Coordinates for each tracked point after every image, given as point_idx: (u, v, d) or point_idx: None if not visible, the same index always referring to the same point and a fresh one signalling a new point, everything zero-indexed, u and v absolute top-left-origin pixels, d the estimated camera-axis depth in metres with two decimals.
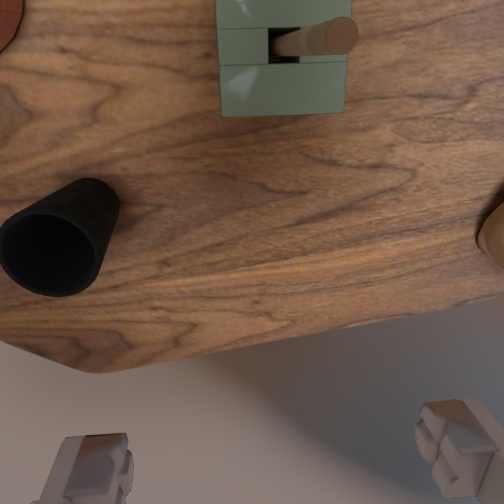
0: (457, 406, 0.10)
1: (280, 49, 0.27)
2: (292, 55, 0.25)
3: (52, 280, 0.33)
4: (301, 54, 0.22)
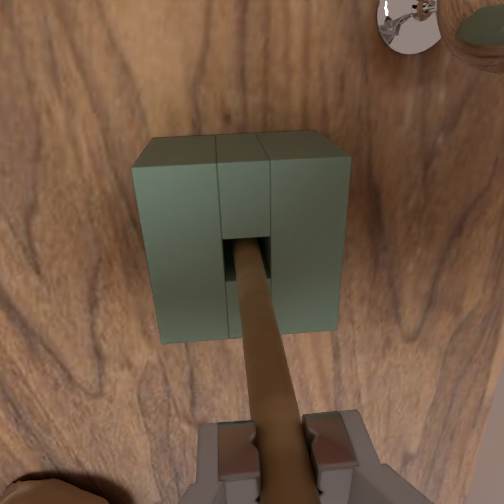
0: (333, 418, 0.10)
1: (246, 272, 0.17)
2: (240, 313, 0.15)
3: None
4: (248, 373, 0.12)
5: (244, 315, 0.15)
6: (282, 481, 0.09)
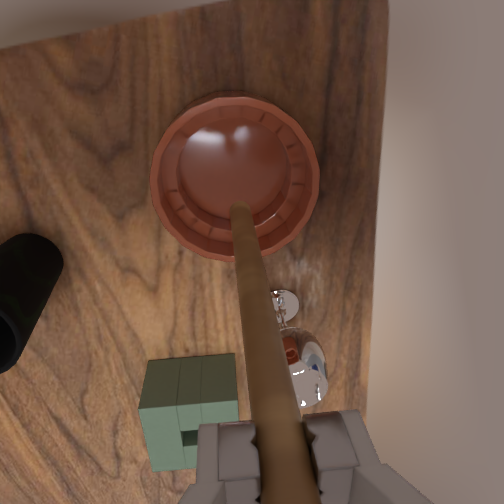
0: (334, 418, 0.10)
1: (246, 272, 0.17)
2: (241, 313, 0.15)
3: None
4: (249, 373, 0.12)
5: (244, 315, 0.15)
6: (283, 482, 0.09)
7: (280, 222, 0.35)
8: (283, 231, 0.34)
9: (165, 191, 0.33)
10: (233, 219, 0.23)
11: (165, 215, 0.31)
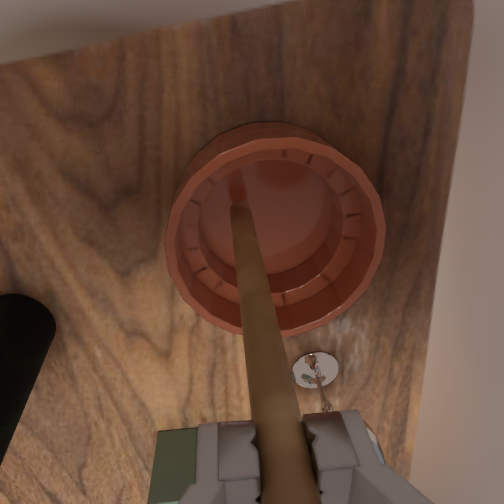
0: (334, 418, 0.10)
1: (246, 272, 0.17)
2: (241, 312, 0.15)
3: None
4: (249, 373, 0.12)
5: (245, 315, 0.15)
6: (283, 481, 0.09)
7: (326, 283, 0.28)
8: (332, 298, 0.27)
9: (183, 249, 0.26)
10: (233, 219, 0.23)
11: (184, 285, 0.24)
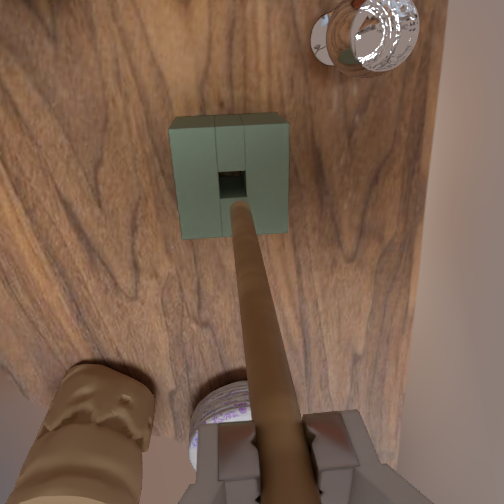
0: (333, 418, 0.10)
1: (246, 272, 0.17)
2: (241, 312, 0.15)
3: None
4: (249, 373, 0.12)
5: (244, 315, 0.15)
6: (283, 481, 0.09)
7: None
8: None
9: None
10: (233, 219, 0.23)
11: None
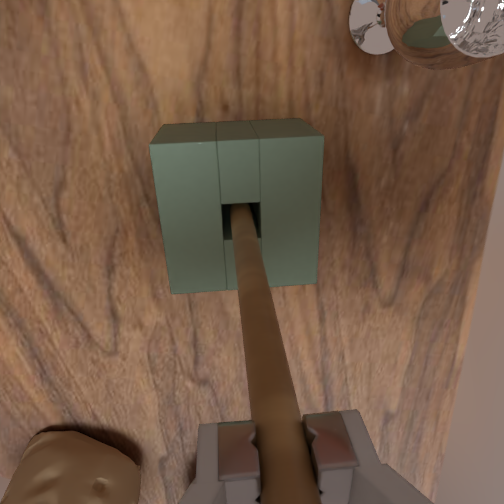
0: (334, 418, 0.10)
1: (246, 272, 0.17)
2: (241, 312, 0.15)
3: None
4: (249, 373, 0.12)
5: (244, 315, 0.15)
6: (283, 481, 0.09)
7: None
8: None
9: None
10: (233, 219, 0.23)
11: None
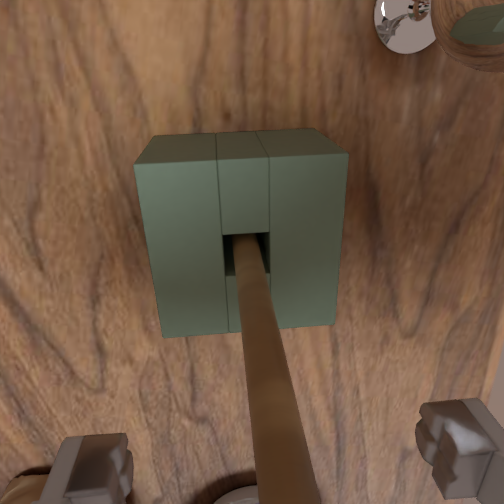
0: (458, 406, 0.10)
1: (244, 265, 0.18)
2: (239, 304, 0.16)
3: None
4: (246, 360, 0.13)
5: (243, 306, 0.15)
6: (278, 459, 0.09)
7: None
8: None
9: None
10: None
11: None
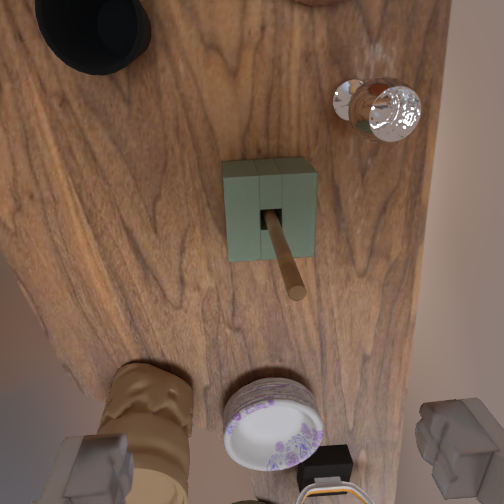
0: (458, 406, 0.10)
1: (271, 222, 0.40)
2: (270, 235, 0.38)
3: (51, 4, 0.29)
4: (276, 250, 0.35)
5: (272, 235, 0.38)
6: (288, 266, 0.32)
7: None
8: None
9: None
10: None
11: None
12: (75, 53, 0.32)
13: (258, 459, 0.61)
